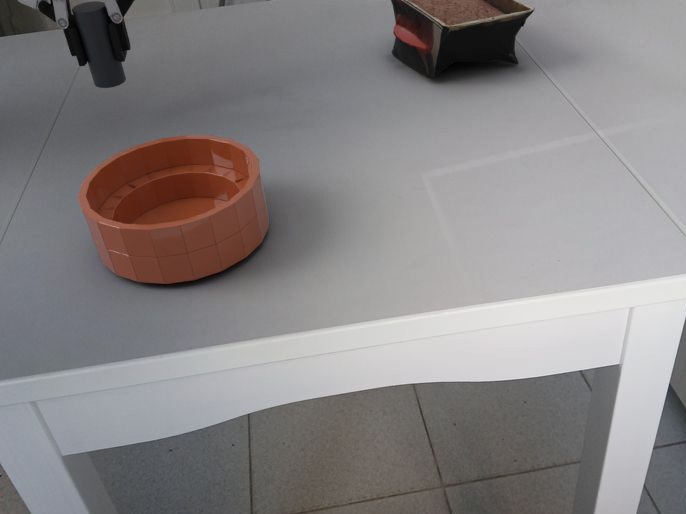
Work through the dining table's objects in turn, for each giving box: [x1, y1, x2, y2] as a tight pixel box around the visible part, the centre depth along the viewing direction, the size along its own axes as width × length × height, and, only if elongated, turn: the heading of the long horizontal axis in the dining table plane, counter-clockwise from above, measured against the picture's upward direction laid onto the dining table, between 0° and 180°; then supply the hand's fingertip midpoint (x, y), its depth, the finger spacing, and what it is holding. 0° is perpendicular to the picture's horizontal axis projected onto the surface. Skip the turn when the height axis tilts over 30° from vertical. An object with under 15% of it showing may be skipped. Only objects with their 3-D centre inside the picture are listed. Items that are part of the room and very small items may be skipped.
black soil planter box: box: [390, 0, 535, 80], centre depth 87 cm, size 14×18×10 cm
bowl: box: [77, 134, 270, 285], centre depth 64 cm, size 15×15×6 cm
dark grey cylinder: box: [71, 0, 127, 89], centre depth 79 cm, size 4×4×8 cm
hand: (103, 57), depth 80 cm, fingers closed on dark grey cylinder, 3 cm apart
